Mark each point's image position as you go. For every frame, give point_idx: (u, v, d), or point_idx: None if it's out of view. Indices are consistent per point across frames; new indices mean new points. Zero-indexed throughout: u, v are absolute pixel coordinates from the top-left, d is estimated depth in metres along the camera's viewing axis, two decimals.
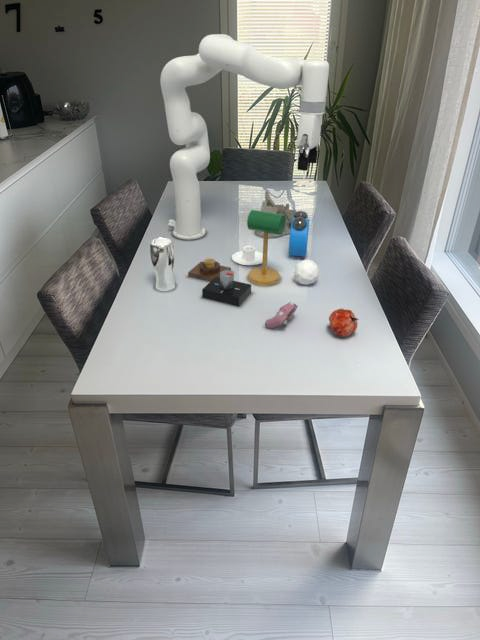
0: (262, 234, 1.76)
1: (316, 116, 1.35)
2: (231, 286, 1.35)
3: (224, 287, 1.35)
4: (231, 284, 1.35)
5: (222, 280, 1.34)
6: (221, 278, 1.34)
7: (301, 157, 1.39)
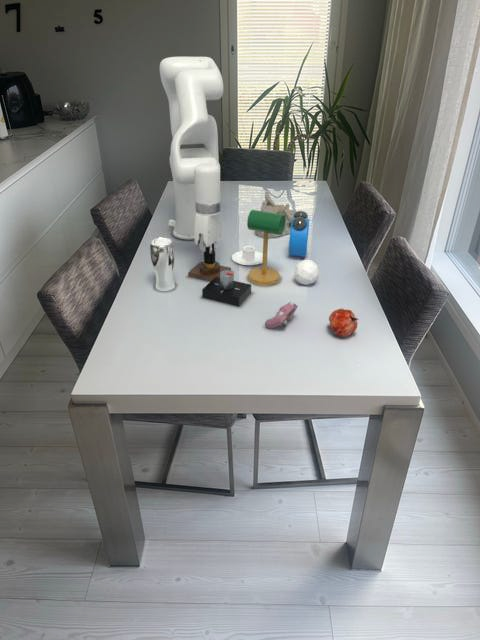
0: (262, 234, 1.76)
1: (210, 217, 1.35)
2: (231, 286, 1.35)
3: (224, 287, 1.35)
4: (231, 284, 1.35)
5: (222, 280, 1.34)
6: (221, 278, 1.34)
7: (206, 253, 1.44)
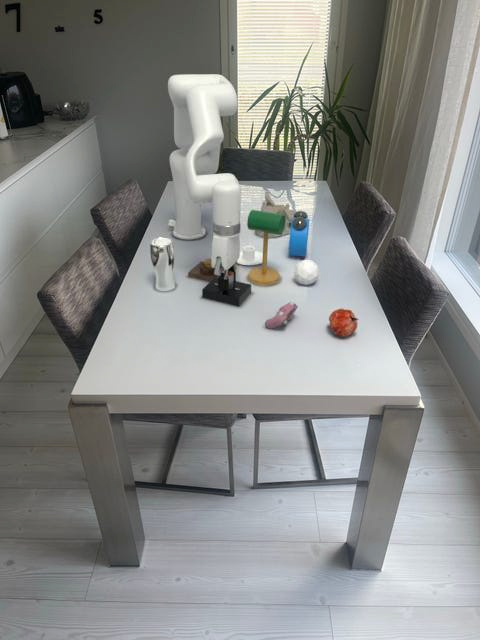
0: (262, 234, 1.76)
1: (229, 239, 1.25)
2: (231, 286, 1.35)
3: None
4: (231, 284, 1.35)
5: None
6: None
7: (220, 278, 1.32)
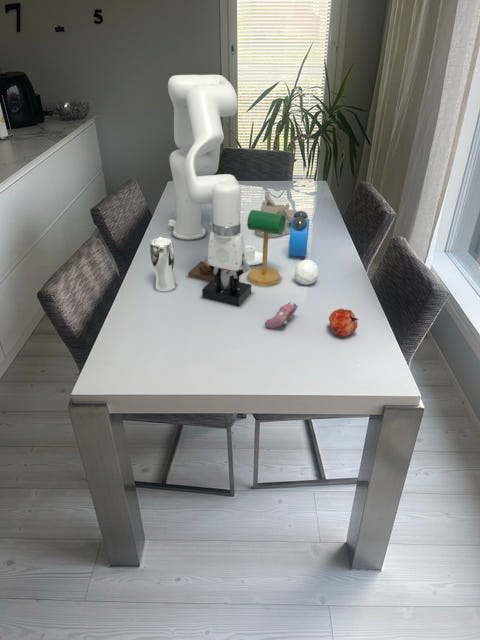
0: (262, 234, 1.76)
1: None
2: None
3: None
4: None
5: None
6: (231, 279, 1.34)
7: (237, 277, 1.33)
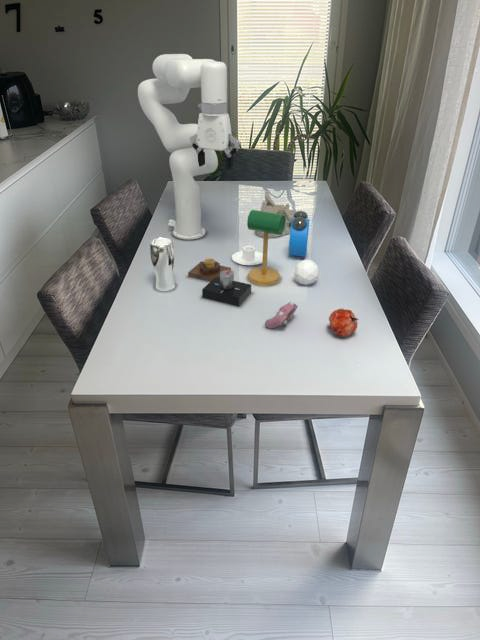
0: (262, 234, 1.76)
1: None
2: None
3: (233, 285, 1.36)
4: None
5: (232, 280, 1.34)
6: (231, 279, 1.34)
7: (231, 156, 1.42)
